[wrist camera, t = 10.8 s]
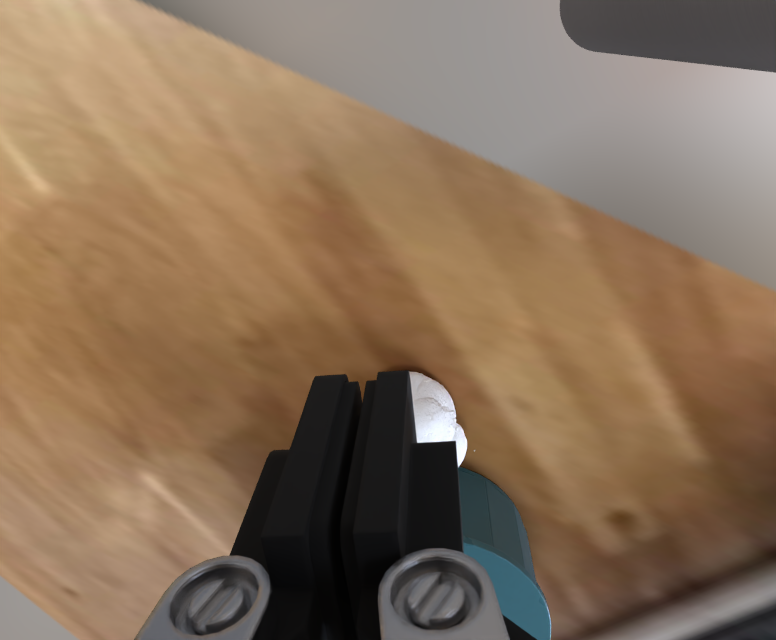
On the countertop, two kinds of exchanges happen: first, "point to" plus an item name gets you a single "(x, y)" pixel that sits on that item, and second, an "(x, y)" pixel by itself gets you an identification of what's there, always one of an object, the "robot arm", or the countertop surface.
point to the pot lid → (513, 589)
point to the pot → (492, 518)
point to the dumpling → (435, 414)
